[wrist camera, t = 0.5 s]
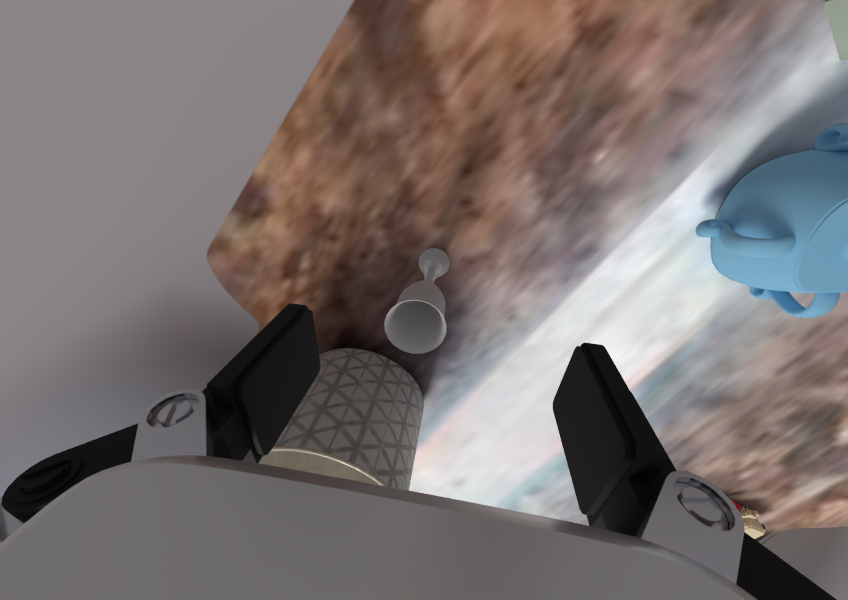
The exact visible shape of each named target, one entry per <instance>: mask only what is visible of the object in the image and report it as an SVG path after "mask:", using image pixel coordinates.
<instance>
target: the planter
mask: <svg viewBox="0 0 848 600" xmlns="http://www.w3.org/2000/svg"><path fill="white" fill-rule="evenodd" d="M319 358H320V365H321V366H320V371H319V374H318V375H317V377H316V379H315V380H314V382H313V384H312V385H311V387H310V388H309V390H308V392H307V393H306V395H305V396H304V398H303V400H302V401H301V403H300V405H299V406H298V408H297V409H296V411H295V413H294V414H293V416H292V417H291V419H290V421H289V422H288V424H287V426H286V427H285V429H284V430H283V432H282V434H281V435H280V437H279V439H278V440H277V442H276V443H275V445H274V447H273V448H272V450H271V451H270V453H269V454H268V455H263V457H262V458H261V460H260V462H259V464H265V465H271V466H277V467H282V468H288V469H293V470H299V471H304V472H310V473H315V474H321V475H326V476H332V477H337V478H343V479H348V480H354V481H359V482H365V483H370V484H375V485H381V486H386V487H391V488H397V489H402V490H408V491H409V486H410V480H411V475H412V469H413V464H414V458H415V453H416V447H417V441H418V436H419V430H420V425H421V419H422V414H423V407H424V402H423V396H422V393H421V390H420V388H419V386H418V384H417V383H416V381H415V380H414V378H413V377H412V376H411V375H410V374H409V373H408V372H407V371H406V370H405V369H404V368H403V367H401V366H400V365H399V364H397V363H396V362H394V361H392V360H390V359H389V358H387V357H385V356H382V355H380V354H377V353H374V352H371V351H367V350H362V349H355V348H340V349H334V350H330V351H327V352H324V353H322V354H320V355H319Z"/></svg>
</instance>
